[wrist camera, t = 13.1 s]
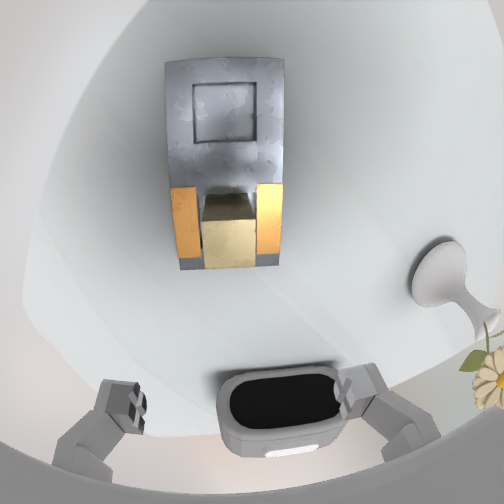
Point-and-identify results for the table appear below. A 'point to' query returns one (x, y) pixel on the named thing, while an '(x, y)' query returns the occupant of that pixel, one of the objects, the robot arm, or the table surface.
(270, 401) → the alarm clock
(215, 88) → the rail
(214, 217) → the brass block
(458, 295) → the flower in vase
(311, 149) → the table surface
